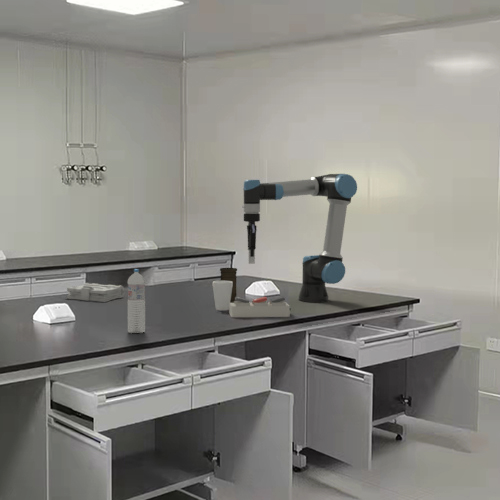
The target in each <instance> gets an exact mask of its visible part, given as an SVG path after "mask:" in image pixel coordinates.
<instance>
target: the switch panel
mask: <svg viewBox="0 0 500 500" xmlns="http://www.w3.org/2000/svg"><path fill="white" fill-rule="evenodd" d="M290 307H291V306H290V305H289V304H288V302H286V301H285V300H284V301H280V302H276V303H271V301H270V300H269V301H268V302H267V301H263V302H259V303H253V300H251V302H249V303H244V302H240V301H234V303H229V310H228V313H229V316H230V317H231V318H288V317H289V318H290V315H291V314H290V312H291V310H292V309H291V308H290Z"/></svg>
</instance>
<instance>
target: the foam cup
mask: <svg viewBox="0 0 500 500" xmlns="http://www.w3.org/2000/svg"><path fill="white" fill-rule="evenodd" d="M232 287H233V282H232V281H221V280H214V281H212V289H213V291H212V292H213V297H214V306H215V310H216V311H229V303H230V300H231V293H232Z"/></svg>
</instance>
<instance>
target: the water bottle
mask: <svg viewBox="0 0 500 500" xmlns="http://www.w3.org/2000/svg"><path fill="white" fill-rule="evenodd" d="M139 270H140V269H139V268H138V269H137V268H134V269H133V272H134V273H132V274H131V275H130V276H129V277H128V279H127V332H128V333H129V334H132V333H140V334H144V333H145V331H146V279H145V278H144V276H143V275H142V274H140V273H139V272H140V271H139ZM143 332H144V333H143Z"/></svg>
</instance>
